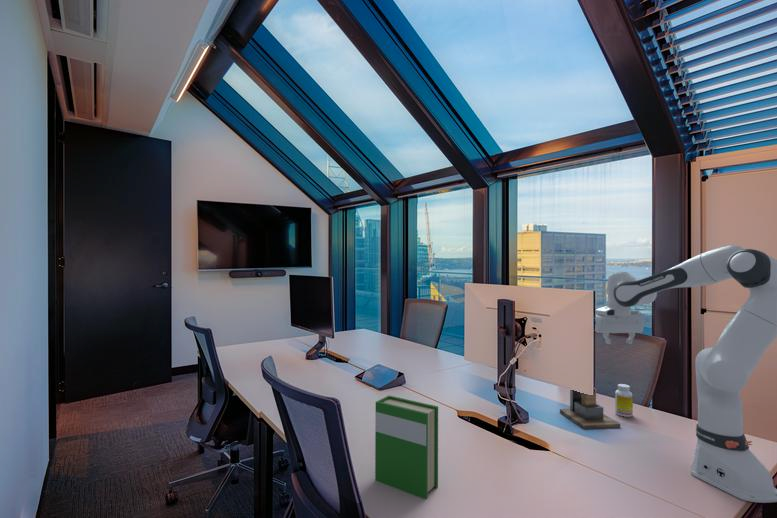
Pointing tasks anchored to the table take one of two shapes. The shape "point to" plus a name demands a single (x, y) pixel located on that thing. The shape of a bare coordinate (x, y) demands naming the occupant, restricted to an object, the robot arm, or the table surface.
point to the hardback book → (406, 445)
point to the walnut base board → (590, 421)
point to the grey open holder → (583, 411)
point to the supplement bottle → (623, 401)
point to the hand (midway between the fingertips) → (618, 343)
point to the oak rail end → (589, 400)
